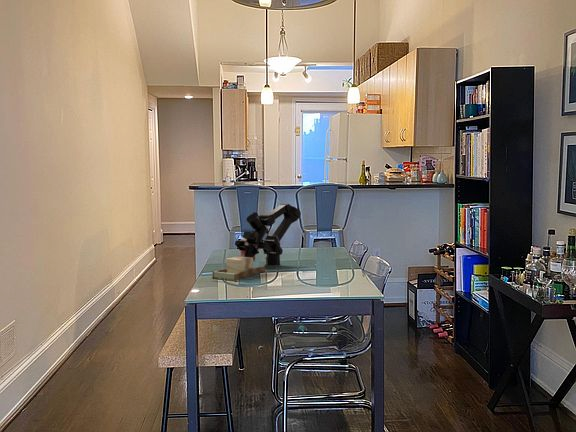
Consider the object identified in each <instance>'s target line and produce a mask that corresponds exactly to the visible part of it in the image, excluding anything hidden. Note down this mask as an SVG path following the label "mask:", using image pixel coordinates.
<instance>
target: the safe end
mask: <svg viewBox="0 0 576 432" xmlns="http://www.w3.org/2000/svg"><path fill="white" fill-rule="evenodd" d="M213 278H214V279H213V280H219V281H227V282H232V283H233V282H234V281H235V280H234V274H233V273H224V272H214V277H213Z"/></svg>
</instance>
